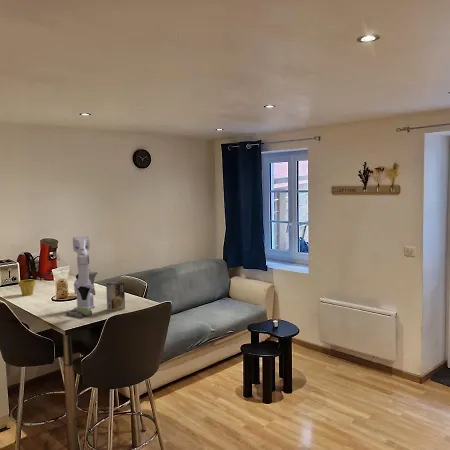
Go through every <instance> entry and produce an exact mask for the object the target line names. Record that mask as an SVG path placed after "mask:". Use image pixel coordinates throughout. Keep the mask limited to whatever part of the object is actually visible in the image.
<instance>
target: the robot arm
mask: <svg viewBox="0 0 450 450" xmlns="http://www.w3.org/2000/svg"><path fill="white" fill-rule="evenodd" d="M90 243H91V241H90V236H73V237H72V249H73V251H74V252H76V254H77V257H76V264H77V274H78V279H76V280H75V281H74V282H73V287H74V288H73V290H74V294H75V295H76V305H77V306H76V307H77V308H78V307H79V306H82V307H88V308H91V309H93V308H95V302H94V295H93V294H92V293H91V291H92V289H93V288H95V284H94V285H92V284H91V281H90V279H89V271H90V255H89V254H88V251H89V250H90V245H91V244H90ZM76 307H74V308H73V310H74V309H75V308H76Z"/></svg>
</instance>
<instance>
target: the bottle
mask: <svg viewBox="0 0 450 450" xmlns="http://www.w3.org/2000/svg"><path fill="white" fill-rule="evenodd" d="M74 308H75V311H77V313H79V314H82V315H87V316H86V317H89V316H91V315H90V314H91V311H92V308H88V307H82V306H79V307H78V308H77V306H76V307H74ZM88 315H89V316H88Z"/></svg>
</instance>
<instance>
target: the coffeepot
mask: <svg viewBox="0 0 450 450" xmlns="http://www.w3.org/2000/svg"><path fill="white" fill-rule="evenodd" d="M97 274H98V272H95V271H90V270H89V279H90V281H91V284H92V285H94V286H95V284H94V283H95V278H96V276H97ZM75 279H76V280H77V279H78V273H77V274H76V275H75ZM95 289H96V288H95V287H94V288H93V289H92V291H91V293H92V294H93V296H96V290H95Z"/></svg>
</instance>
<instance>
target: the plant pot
mask: <svg viewBox="0 0 450 450" xmlns="http://www.w3.org/2000/svg"><path fill="white" fill-rule="evenodd" d="M35 286H36V279H22V280H19V281H18V287H19V288H20V292H21V295H22V297H23V296H24V297H28V296H32V295H33V294H34V290H35Z"/></svg>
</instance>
